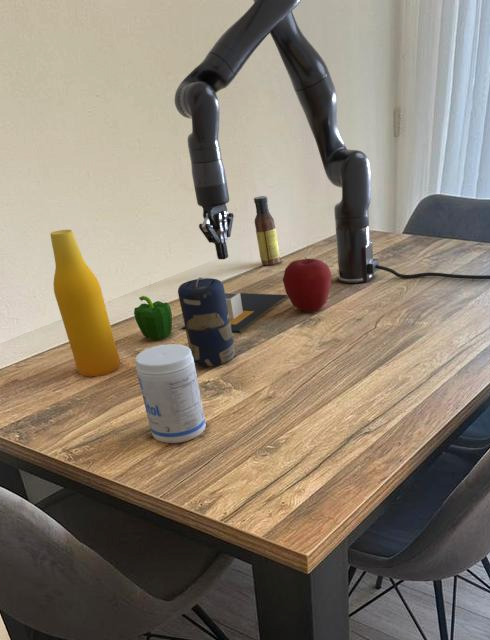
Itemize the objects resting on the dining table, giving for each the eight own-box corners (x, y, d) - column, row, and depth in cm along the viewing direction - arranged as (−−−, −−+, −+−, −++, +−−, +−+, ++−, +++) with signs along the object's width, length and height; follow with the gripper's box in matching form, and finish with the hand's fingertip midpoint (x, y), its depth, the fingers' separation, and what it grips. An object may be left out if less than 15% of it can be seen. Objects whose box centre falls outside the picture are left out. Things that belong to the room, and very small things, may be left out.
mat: (288, 296, 182) (287, 294, 181) (239, 332, 160) (238, 330, 160) (236, 294, 187) (236, 292, 187) (182, 329, 166) (182, 327, 166)
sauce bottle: (282, 260, 216) (274, 194, 205) (279, 265, 211) (270, 198, 200) (262, 261, 217) (253, 195, 206) (258, 266, 211) (249, 199, 201)
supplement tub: (141, 436, 118) (121, 358, 110) (183, 415, 124) (167, 339, 116) (176, 450, 113) (157, 369, 105) (218, 428, 119) (203, 349, 111)
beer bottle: (104, 378, 143) (64, 237, 127) (69, 375, 146) (26, 237, 130) (129, 362, 150) (94, 226, 134) (95, 359, 153) (57, 226, 137)
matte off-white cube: (230, 299, 165) (233, 319, 168) (240, 293, 169) (243, 312, 171) (213, 298, 167) (216, 318, 169) (222, 292, 171) (226, 311, 173)
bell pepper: (182, 335, 162) (174, 294, 157) (154, 345, 157) (144, 304, 152) (162, 329, 167) (153, 289, 162) (134, 339, 162) (124, 298, 157)
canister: (243, 353, 148) (230, 271, 139) (224, 370, 141) (209, 285, 131) (205, 351, 151) (189, 271, 142) (184, 368, 144) (166, 284, 134)
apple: (279, 317, 168) (272, 263, 161) (298, 302, 177) (292, 250, 170) (323, 319, 164) (318, 263, 156) (340, 304, 172) (336, 251, 165)
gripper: (209, 187, 148) (223, 266, 157) (237, 176, 158) (249, 251, 168) (180, 188, 151) (196, 265, 160) (210, 177, 161) (223, 251, 170)
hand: (223, 258), depth 164 cm, fingers closed
